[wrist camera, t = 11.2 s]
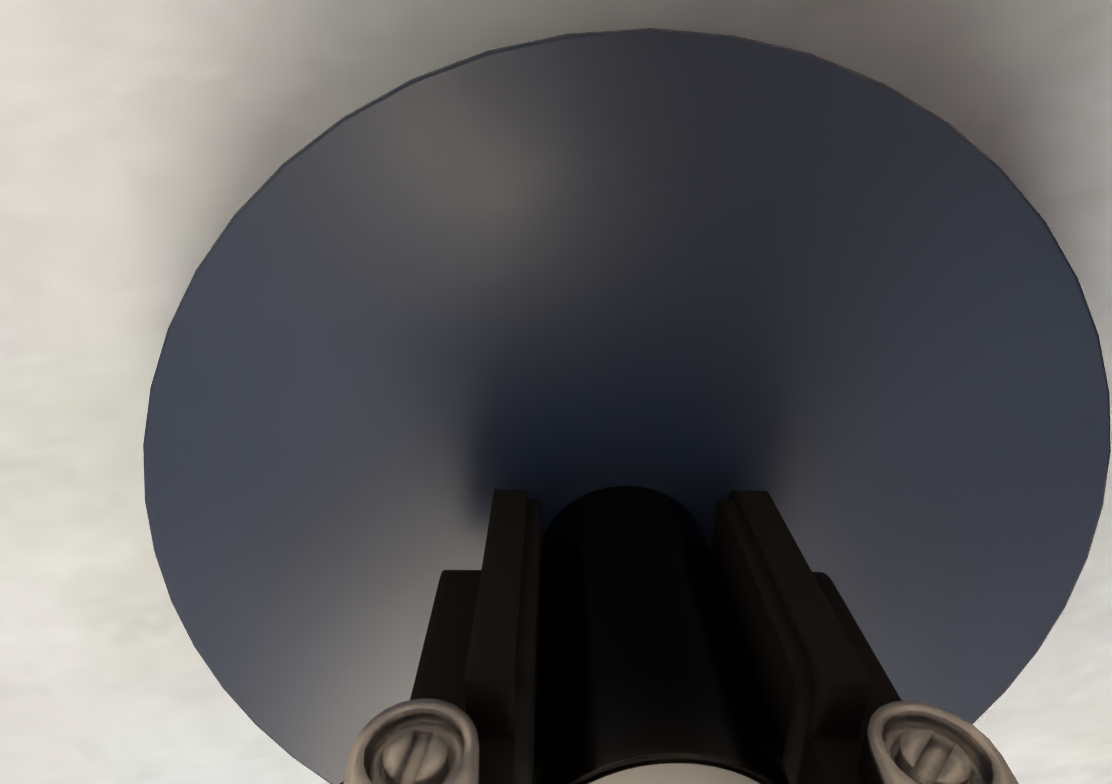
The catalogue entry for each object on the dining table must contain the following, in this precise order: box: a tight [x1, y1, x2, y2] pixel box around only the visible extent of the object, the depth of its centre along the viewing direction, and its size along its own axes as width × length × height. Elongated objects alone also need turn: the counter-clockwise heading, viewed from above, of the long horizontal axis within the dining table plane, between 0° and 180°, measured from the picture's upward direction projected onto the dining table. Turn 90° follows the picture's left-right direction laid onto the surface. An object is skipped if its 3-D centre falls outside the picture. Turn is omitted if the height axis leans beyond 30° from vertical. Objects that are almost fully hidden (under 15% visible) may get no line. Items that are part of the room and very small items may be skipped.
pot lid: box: [143, 28, 1110, 784], centre depth 10 cm, size 16×16×6 cm
